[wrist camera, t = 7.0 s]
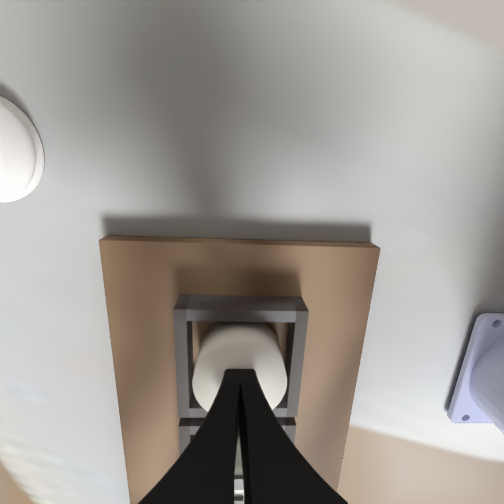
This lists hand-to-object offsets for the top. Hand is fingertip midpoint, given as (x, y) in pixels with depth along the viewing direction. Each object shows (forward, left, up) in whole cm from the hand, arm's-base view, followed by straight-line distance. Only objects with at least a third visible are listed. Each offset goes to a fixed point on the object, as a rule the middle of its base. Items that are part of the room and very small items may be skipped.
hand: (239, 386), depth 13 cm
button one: (0, 0, -3) cm, 3 cm away
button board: (0, +7, -4) cm, 8 cm away
